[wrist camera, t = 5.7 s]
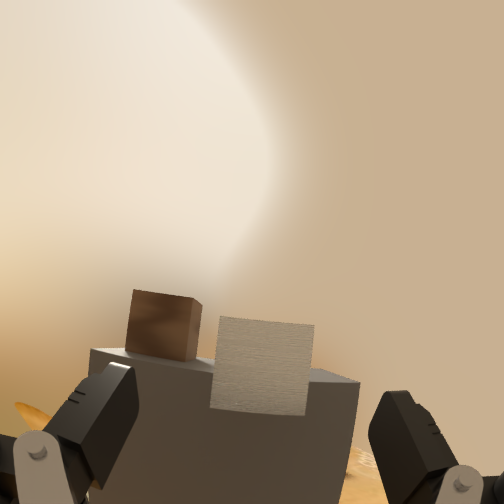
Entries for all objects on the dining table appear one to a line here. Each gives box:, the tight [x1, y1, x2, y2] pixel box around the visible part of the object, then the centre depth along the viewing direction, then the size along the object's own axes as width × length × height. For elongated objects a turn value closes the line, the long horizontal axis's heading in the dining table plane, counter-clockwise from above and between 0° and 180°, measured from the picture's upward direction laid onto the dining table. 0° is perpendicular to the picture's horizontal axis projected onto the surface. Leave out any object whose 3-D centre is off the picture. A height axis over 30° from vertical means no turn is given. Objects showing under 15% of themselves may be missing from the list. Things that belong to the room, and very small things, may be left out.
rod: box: [210, 316, 314, 416], centre depth 23 cm, size 3×28×3 cm, turn 1°
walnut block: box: [125, 289, 202, 362], centre depth 25 cm, size 5×5×5 cm
